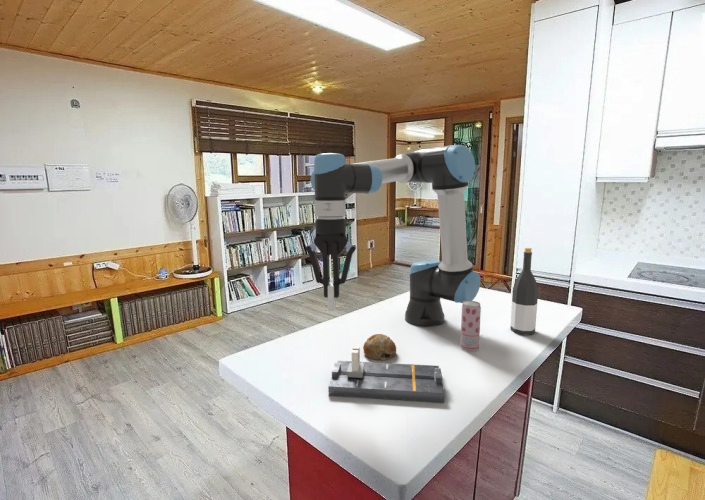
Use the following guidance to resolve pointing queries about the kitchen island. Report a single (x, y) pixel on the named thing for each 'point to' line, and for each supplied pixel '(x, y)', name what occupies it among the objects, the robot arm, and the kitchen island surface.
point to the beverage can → (470, 326)
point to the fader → (355, 364)
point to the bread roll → (379, 347)
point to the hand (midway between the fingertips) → (331, 309)
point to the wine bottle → (524, 299)
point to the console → (389, 382)
